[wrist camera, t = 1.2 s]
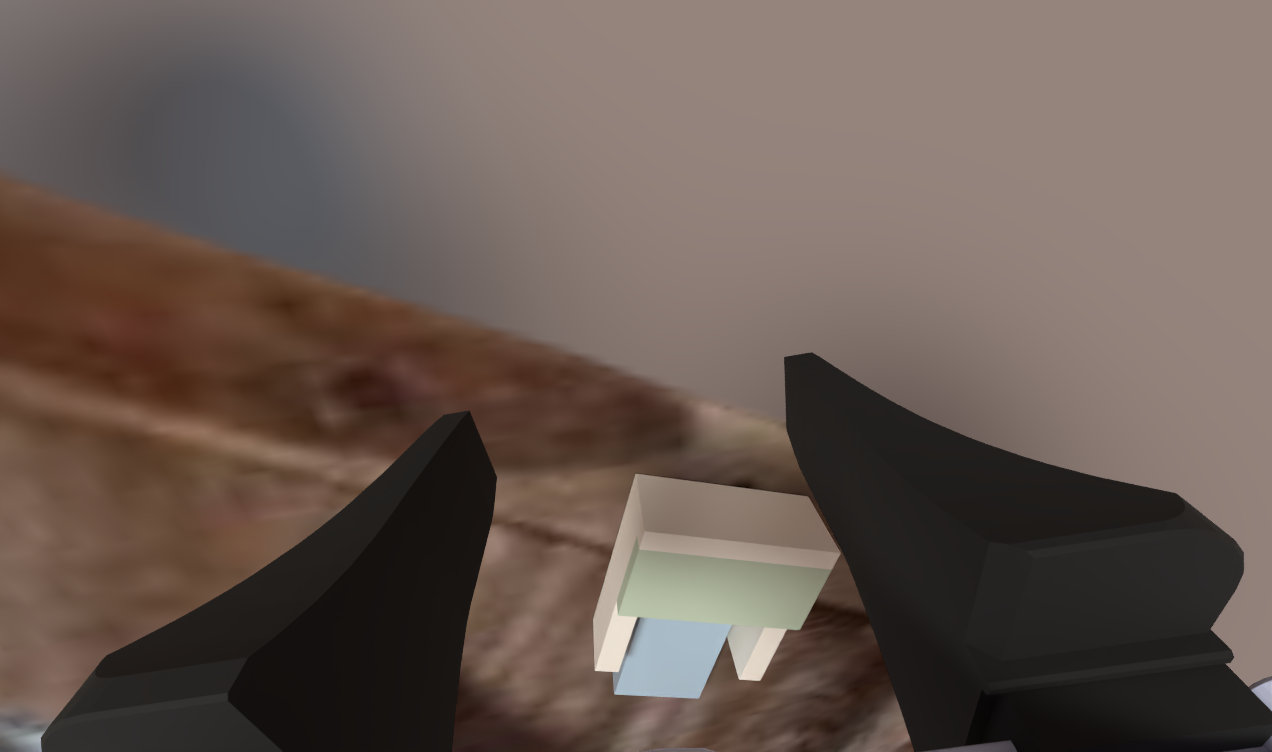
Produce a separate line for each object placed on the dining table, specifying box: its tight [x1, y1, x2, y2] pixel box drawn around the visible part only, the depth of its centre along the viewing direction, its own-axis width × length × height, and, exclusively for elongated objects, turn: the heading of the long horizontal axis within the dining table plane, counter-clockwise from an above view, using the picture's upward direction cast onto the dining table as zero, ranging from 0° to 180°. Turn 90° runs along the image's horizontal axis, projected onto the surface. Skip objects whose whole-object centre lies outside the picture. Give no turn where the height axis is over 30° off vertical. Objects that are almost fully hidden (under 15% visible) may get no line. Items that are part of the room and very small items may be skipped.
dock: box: [593, 474, 841, 681], centre depth 27 cm, size 10×9×4 cm
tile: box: [613, 617, 732, 698], centre depth 30 cm, size 7×5×2 cm
